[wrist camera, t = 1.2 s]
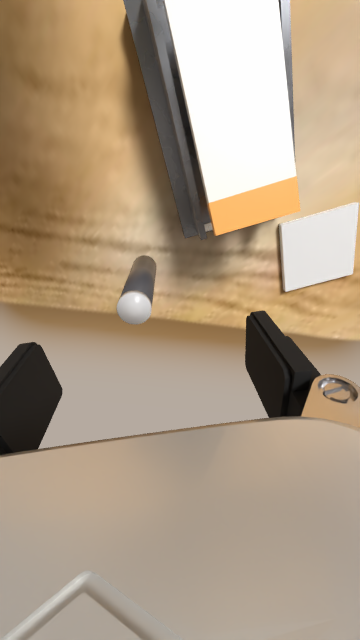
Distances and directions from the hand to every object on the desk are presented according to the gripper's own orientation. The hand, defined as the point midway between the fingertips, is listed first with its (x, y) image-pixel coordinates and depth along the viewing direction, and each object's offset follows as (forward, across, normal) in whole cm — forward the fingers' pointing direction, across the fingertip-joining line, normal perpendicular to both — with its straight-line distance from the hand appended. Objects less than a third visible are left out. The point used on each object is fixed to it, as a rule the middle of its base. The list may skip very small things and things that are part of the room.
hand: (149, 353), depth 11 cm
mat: (+22, -20, +3) cm, 30 cm away
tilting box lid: (+14, -8, -11) cm, 19 cm away
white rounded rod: (+22, +2, +3) cm, 23 cm away
